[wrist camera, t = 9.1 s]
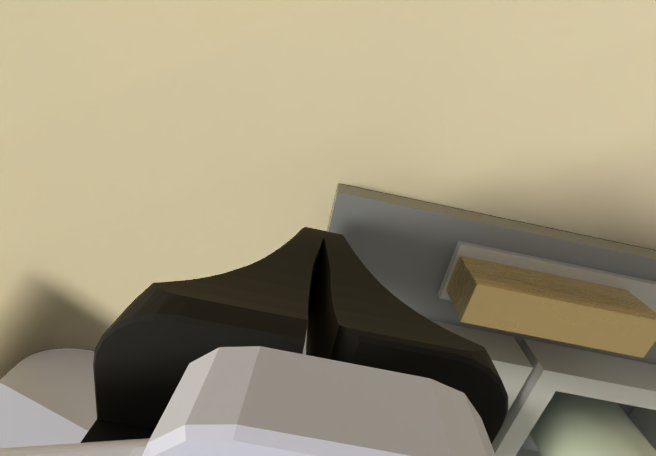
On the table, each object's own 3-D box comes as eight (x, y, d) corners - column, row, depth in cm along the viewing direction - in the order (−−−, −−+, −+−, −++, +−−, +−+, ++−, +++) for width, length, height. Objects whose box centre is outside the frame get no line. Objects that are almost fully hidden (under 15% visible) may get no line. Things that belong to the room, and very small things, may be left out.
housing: (589, 500, 19) (686, 672, 14) (279, 445, 19) (251, 603, 13) (772, 275, 14) (1055, 414, 8) (337, 183, 13) (332, 269, 8)
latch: (606, 321, 13) (643, 357, 12) (446, 289, 13) (460, 321, 11) (627, 289, 13) (668, 322, 11) (459, 255, 13) (476, 284, 11)
